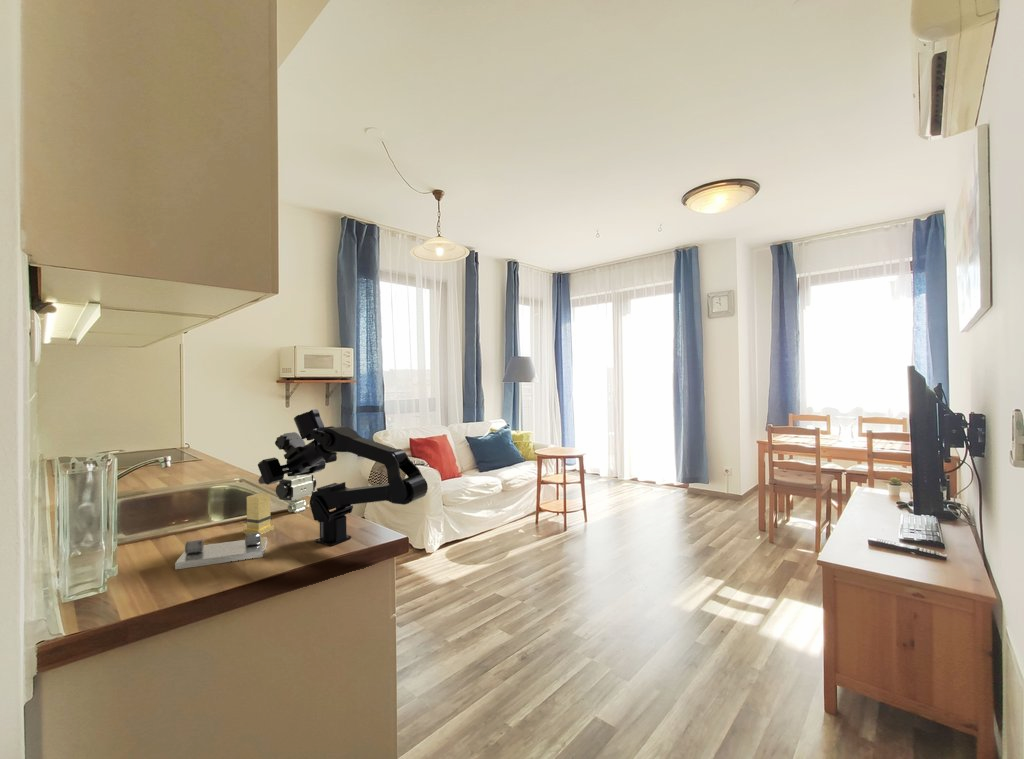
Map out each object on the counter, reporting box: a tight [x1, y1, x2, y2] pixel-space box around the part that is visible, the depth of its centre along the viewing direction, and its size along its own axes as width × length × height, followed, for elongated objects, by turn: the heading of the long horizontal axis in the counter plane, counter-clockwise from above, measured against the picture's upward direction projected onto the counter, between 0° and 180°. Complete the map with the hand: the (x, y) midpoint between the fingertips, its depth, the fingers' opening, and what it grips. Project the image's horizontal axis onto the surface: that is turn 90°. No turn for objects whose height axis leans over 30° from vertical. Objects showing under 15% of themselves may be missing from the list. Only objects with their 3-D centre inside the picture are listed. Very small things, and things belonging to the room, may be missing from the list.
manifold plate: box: [174, 533, 268, 570], centre depth 107 cm, size 17×10×4 cm, turn 113°
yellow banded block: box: [243, 492, 275, 535], centre depth 124 cm, size 5×5×10 cm
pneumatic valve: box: [275, 474, 317, 514], centre depth 142 cm, size 6×12×12 cm, turn 156°
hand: (274, 478), depth 124 cm, fingers open, 9 cm apart
